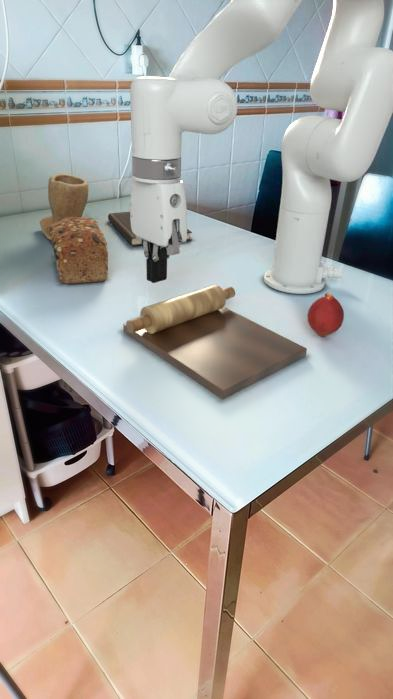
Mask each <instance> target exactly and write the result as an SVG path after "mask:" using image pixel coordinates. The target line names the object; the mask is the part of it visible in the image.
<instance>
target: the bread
mask: <svg viewBox="0 0 393 699" xmlns="http://www.w3.org/2000/svg"><path fill="white" fill-rule="evenodd" d="M50 234H51V239H52V240H51V243H52V244H51V245H52V250H53V253H54V258H55V264H56V270H57V273H58V279H59V281H60V283H61V284H62V283H63V284H69V285H72V284H74V285H75V284H84V283H99V282H103V281H105V280H106V279H107V278H108V270H109V251H108V247H107V246H108V242H107V240H106V236H105V235H104V232H103V230H102V229H101V228H100V226H99V224H98V222H97V221H96V220H95V219H94V218H92V217H83V216H82V217H67V218H62V219H60V220H59V221H58V222H56V223H55V224H52V225H51V227H50Z"/></svg>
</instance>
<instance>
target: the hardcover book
mask: <svg viewBox="0 0 393 699" xmlns="http://www.w3.org/2000/svg"><path fill="white" fill-rule="evenodd" d="M107 219H108V220H107V221H108V222H110V223H111V224H112V225H113V226H114V228H115V229H116V230H117V231H118V232H119V233H120V234H121V235H122V237H124V239H125V240H126V241H127V242H128V243H129V244H130V245H131V246H132V247H141V246H142V247H143V245H142V243H141V242H139V241H138V240H137V239H136V235H135V234H134V233H133V232H132V229H131V220H130V211H122V212H121V211H120V212H109V213H108V215H107ZM191 234H192V231H191V230H190V229H188V228H187V240H186V242H190V241H192V239H191Z"/></svg>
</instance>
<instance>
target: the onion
mask: <svg viewBox="0 0 393 699" xmlns="http://www.w3.org/2000/svg"><path fill="white" fill-rule="evenodd" d="M344 318H345V312H344V308H343V306H342V305H341V303H340V301H339V300H338V299H337V298H336V297H334V295H333V294H332V292H326V293H325V294H324V296H321V297H320V298H318V299H316V300H315V301H314V302H313V303H312V304H311V305H310V307H309V309H308V311H307V320H306V321H307V322H308V325H309V326H310V328H311V329H312V330H313V331H314V332H315V333H316V334H317V336H319V337H320V338H323V337H327V336H329V335H331V334H334V333H335V332H336V331H338V330H339V329H340V328H341V327H342V325H343V322H344Z"/></svg>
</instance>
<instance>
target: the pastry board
mask: <svg viewBox="0 0 393 699" xmlns="http://www.w3.org/2000/svg"><path fill="white" fill-rule="evenodd" d="M122 325H123V326H122V328H123V333H124V334H126V335H127V336H129V337H130V338H132V339H133V340H135V341H136V342H138V343H139V344H140V345H142V346H143V347H145V348H146V349H147V350H149V351H151V352H152V353H153V354H155V355H156V356H158V357H159V358H161V359H162V360H164V361H165V362H166V363H168V364H170V365H171V366H173V367H174V368H176V369H177V370H179V372H181V373H183V374H184V375H185V376H187V377H188V378H191V380H193V381H195V382H196V383H198V384H199V385H200V386H202V387H204V388H205V389H206V390H208V391H209V392H211V393H212V394H213V395H215V396H217V398H220V399H221V400H225V399H227V398H229V397H231V396H233V395H235V394H237V393H238V392H240V391H242V390H244V389H246V388H247V387H250V386H252V385H254V384H255V383H258V382H260V381H261V380H264V379H265V378H268V377H269V376H271V375H273V374H275V373H277V372H279V371H280V370H283V369H285V368H287V367H289V366H291V365H292V364H294V363H296V362H298V361H300V360H301V359H304V358H306V356H307V351H308V349H307V347H305V346H303V345H301V344H299V343H297V342H295V341H293V340H291V339H289V338H287V337H285V336H283V335H281V334H279V333H277V332H276V331H273V330H272V329H269V328H267V327H266V326H263V325H261V324H259V323H257V322H255V321H253V320H251V319H249V318H248V317H245V316H243V315H241V314H239V313H237V312H235V311H234V310H231V309H229V308H227V307H225V306H224V307H223V308H222V309H219V310H216V311H213V312H211V313H208V314H205V315H202V316H200V317H197V318H194V319H192V320H189V321H186V322H183V323H181V324H178V325H175V326H172V327H170V328H167V329H164V330H161V331H159V332H156V333H153V334H150V333H148V332H147V331H146V330H145V329H142V330H139V331H136V332H133V333H130V332H129V331H128V329H127V327H126V323H123V324H122Z"/></svg>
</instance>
